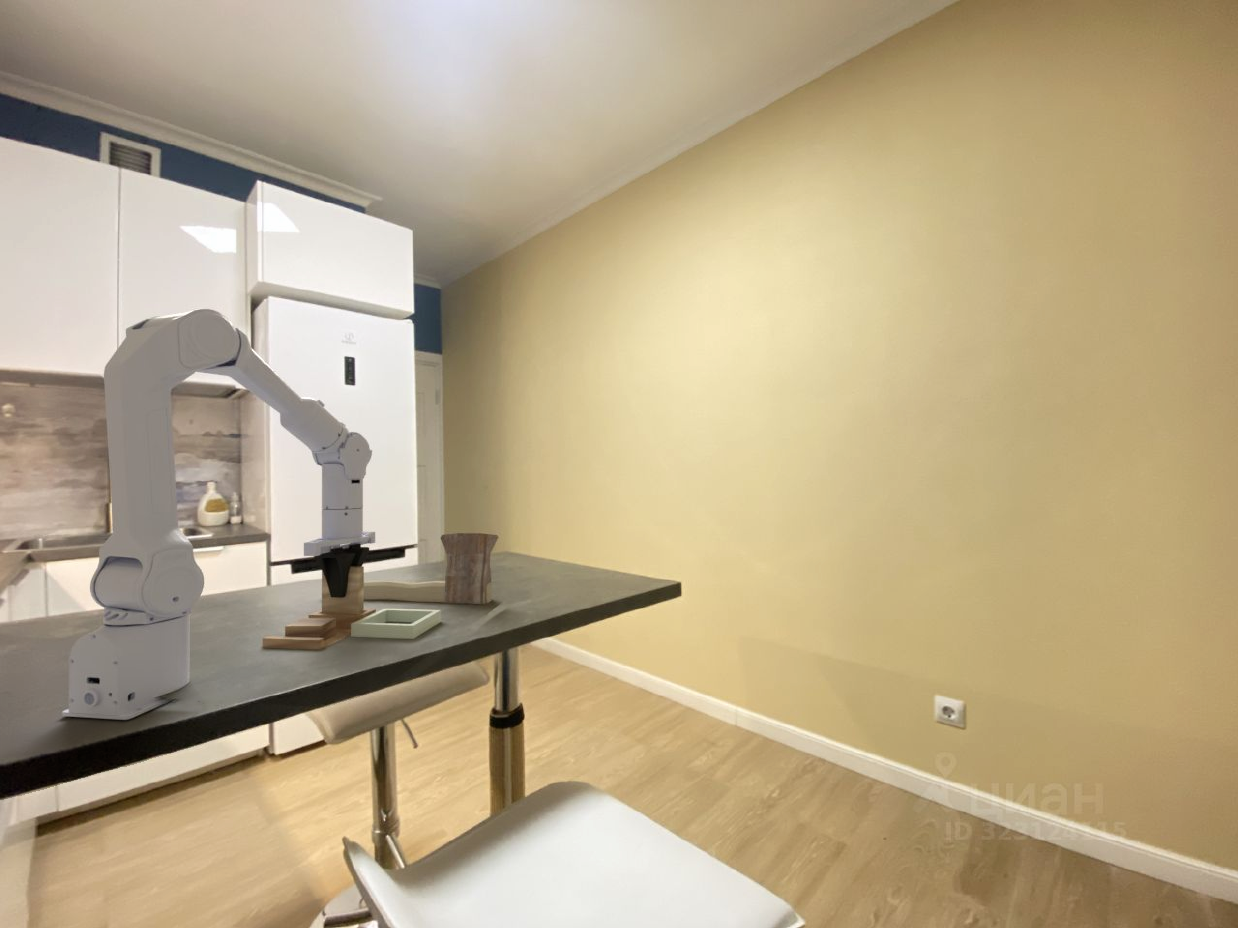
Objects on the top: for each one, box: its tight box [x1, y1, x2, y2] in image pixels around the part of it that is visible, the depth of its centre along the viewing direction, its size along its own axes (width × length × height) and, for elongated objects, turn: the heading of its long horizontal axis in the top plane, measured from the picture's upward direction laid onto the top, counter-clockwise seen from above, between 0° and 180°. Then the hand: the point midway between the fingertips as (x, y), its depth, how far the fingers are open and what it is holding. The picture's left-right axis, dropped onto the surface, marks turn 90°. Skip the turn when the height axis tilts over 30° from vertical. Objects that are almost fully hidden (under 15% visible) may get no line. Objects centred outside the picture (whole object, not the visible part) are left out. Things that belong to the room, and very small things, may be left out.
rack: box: [261, 608, 377, 650], centre depth 79 cm, size 14×9×3 cm, turn 173°
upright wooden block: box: [321, 565, 365, 614], centre depth 83 cm, size 2×6×8 cm, turn 83°
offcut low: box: [284, 627, 337, 641], centre depth 76 cm, size 4×5×1 cm
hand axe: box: [364, 532, 499, 605], centre depth 99 cm, size 35×3×14 cm, turn 82°
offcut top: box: [284, 617, 336, 636], centre depth 76 cm, size 4×5×1 cm
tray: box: [350, 608, 442, 640], centre depth 81 cm, size 9×10×3 cm
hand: (342, 595), depth 83 cm, fingers closed on upright wooden block, 1 cm apart
